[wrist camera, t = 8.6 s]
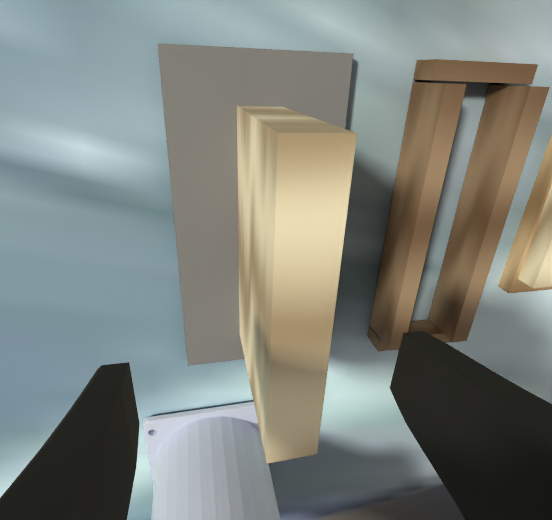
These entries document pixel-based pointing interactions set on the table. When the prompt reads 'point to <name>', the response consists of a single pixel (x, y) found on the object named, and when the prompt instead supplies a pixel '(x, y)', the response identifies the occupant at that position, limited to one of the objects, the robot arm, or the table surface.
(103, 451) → the robot arm
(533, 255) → the offcut top
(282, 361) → the wooden block
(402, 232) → the frame
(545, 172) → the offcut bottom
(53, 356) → the table surface
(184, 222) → the mat
